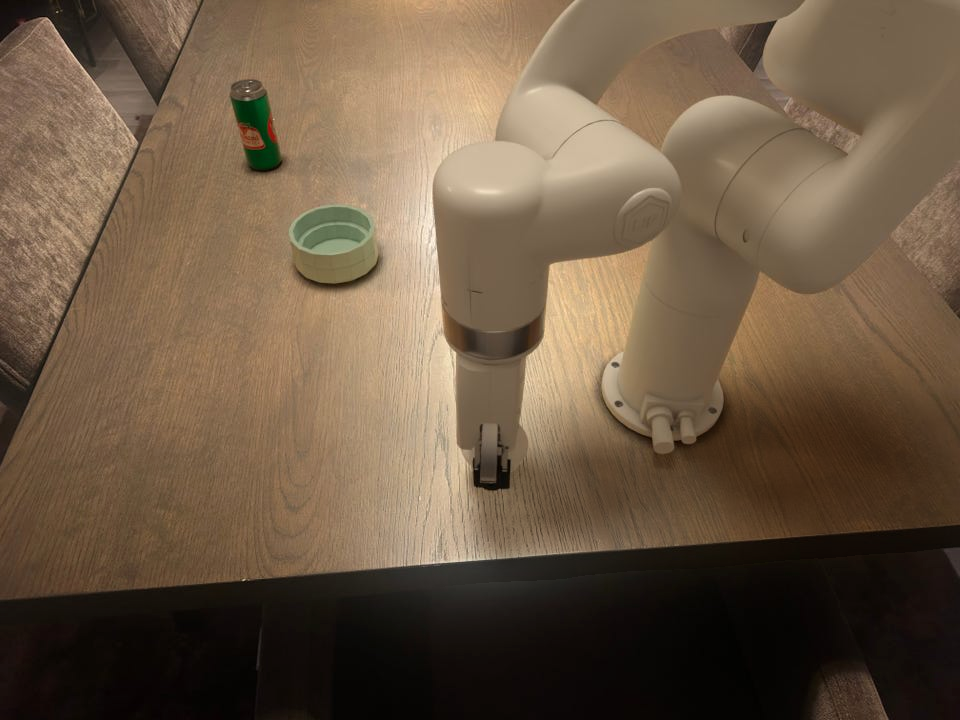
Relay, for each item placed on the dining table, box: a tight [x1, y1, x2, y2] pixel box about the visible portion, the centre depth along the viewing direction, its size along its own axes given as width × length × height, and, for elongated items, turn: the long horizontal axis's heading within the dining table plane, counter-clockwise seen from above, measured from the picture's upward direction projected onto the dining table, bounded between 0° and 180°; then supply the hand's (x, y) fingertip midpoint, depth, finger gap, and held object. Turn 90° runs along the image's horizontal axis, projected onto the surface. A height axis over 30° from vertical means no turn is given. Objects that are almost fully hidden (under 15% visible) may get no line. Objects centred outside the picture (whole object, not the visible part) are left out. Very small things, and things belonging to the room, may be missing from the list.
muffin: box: [460, 423, 529, 474], centre depth 61 cm, size 6×6×7 cm
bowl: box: [287, 203, 379, 285], centre depth 84 cm, size 10×10×5 cm
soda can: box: [229, 78, 283, 171], centre depth 97 cm, size 5×5×12 cm
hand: (494, 452), depth 62 cm, fingers closed on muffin, 6 cm apart
